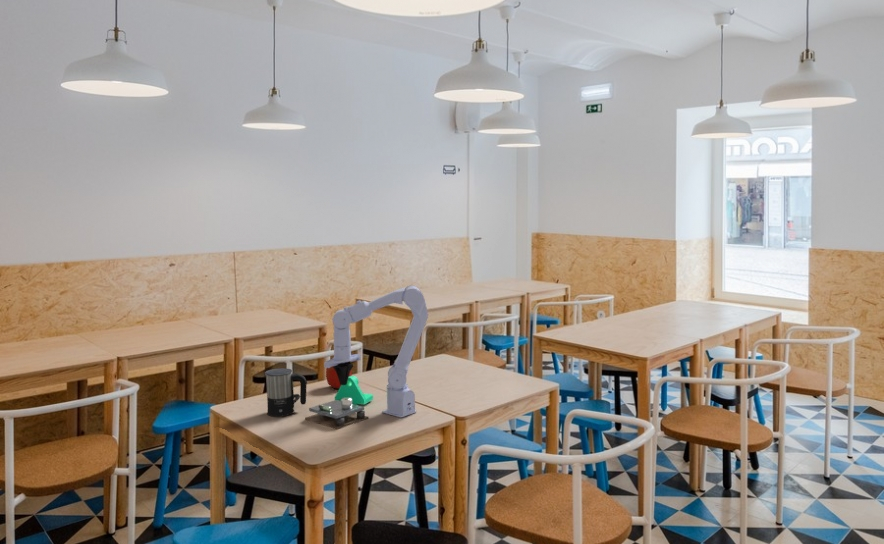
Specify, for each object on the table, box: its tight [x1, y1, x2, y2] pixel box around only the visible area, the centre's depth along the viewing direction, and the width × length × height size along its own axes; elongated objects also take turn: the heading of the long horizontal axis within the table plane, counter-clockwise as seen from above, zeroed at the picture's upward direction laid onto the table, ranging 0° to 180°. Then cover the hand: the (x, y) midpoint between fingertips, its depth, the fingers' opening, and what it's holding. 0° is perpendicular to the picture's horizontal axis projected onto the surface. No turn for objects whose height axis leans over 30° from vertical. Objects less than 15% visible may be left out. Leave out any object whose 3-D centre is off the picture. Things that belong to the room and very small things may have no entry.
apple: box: [325, 366, 353, 390], centre depth 261 cm, size 10×10×12 cm
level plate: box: [308, 397, 365, 419], centre depth 223 cm, size 14×12×4 cm
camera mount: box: [334, 375, 374, 406], centre depth 242 cm, size 12×8×10 cm, turn 69°
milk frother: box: [264, 367, 307, 418], centre depth 234 cm, size 14×16×15 cm
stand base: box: [304, 410, 369, 430], centre depth 223 cm, size 16×14×3 cm
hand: (343, 384), depth 227 cm, fingers closed
